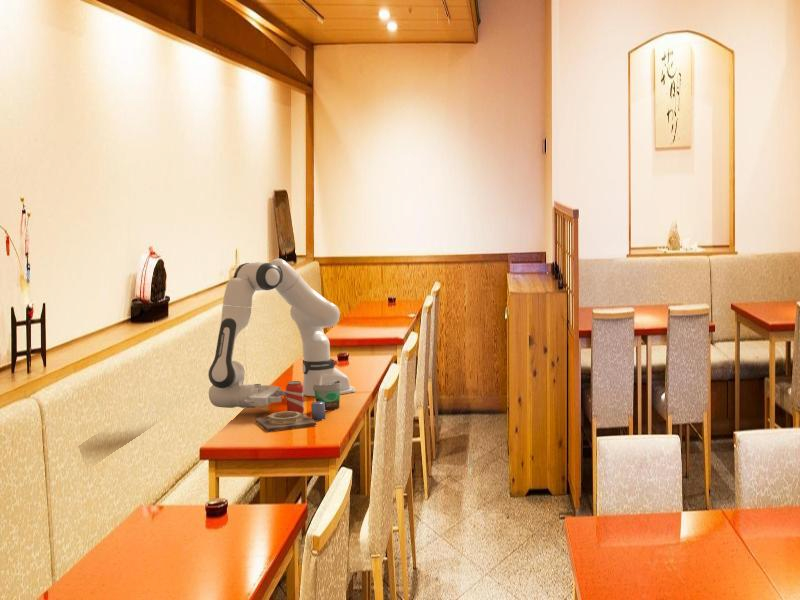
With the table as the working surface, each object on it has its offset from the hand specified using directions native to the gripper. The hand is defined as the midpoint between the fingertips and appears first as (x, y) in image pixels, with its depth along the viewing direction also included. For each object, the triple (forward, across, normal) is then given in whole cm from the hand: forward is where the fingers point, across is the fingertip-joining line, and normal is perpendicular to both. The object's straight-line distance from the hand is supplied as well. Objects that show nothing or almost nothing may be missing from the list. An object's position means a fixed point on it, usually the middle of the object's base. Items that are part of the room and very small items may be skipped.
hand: (285, 396), depth 382 cm
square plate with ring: (+4, -16, +6) cm, 18 cm away
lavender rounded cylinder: (+15, -8, +7) cm, 18 cm away
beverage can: (+4, 0, +7) cm, 8 cm away
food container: (+16, +8, +7) cm, 19 cm away
